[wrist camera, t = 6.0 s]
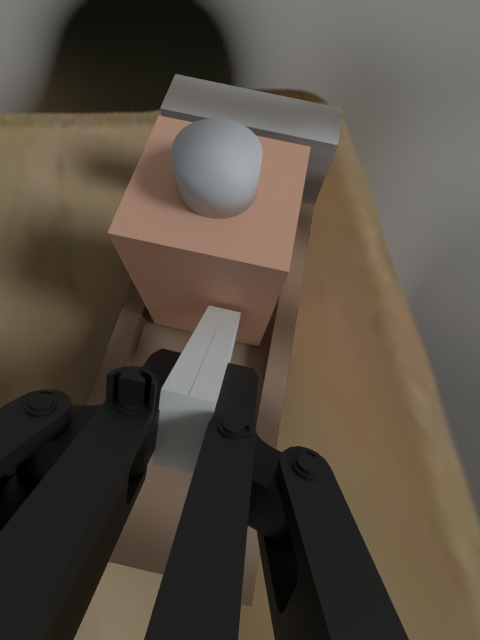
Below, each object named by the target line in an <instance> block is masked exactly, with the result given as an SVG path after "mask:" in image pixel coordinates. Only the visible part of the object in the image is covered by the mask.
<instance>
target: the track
mask: <svg viewBox="0 0 480 640" xmlns="http://www.w3.org/2000/svg"><path fill="white" fill-rule="evenodd" d="M160 110H161V115H162V116H164V117H169V118H174V119H179V120H184V121H189V122H196V121H199V120H203V119H209V118H222V119H228V120H232V121H235V122H238V123H240V124H242V125H244V126H245V127H247V128H248V129H250V130H251V131H252V132H253V133H254V134H255V135H256V136H261V137H266V138H271V139H275V140H280V141H285V142H290V143H295V144H300V145H304V146H309V147H311V149H310V155H309V160H308V166H307V172H306V177H305V183H304V189H303V194H302V200H301V206H300V212H299V217H298V223H297V229H296V234H295V240H294V246H293V251H292V257H291V263H290V269H289V273H288V275H287V278H286V280H285V283H284V285H283V288H282V290H281V293H280V295H279V298H278V300H277V303H276V305H275V308H274V310H273V313H272V315H271V317H270V320H269V322H268V325H267V327H266V330H265V332H264V335H263V337H262V340H261V342H260V345H259V347H258V346H253V345H249V344H244V343H239V342H235V343H234V347H233V352H232V356H231V361H230V363H232V364H237V365H241V366H245V367H250V368H254V370H255V371H256V373H257V375H258V377H259V379H258V390H257V400H256V411H255V421H254V425H255V430H256V432H257V434H258V436H259V437H260V438H261V439H262V440H263V441H264V442H265V443H266V444H268V445H269V446H271V447H273V448H275V449H276V446H277V439H278V433H279V427H280V420H281V414H282V407H283V401H284V395H285V388H286V382H287V375H288V369H289V362H290V356H291V350H292V343H293V337H294V330H295V324H296V318H297V311H298V305H299V298H300V292H301V285H302V279H303V273H304V266H305V260H306V253H307V247H308V241H309V234H310V228H311V221H312V215H313V208H314V204H315V202H316V199H317V197H318V194H319V192H320V189H321V187H322V184H323V182H324V179H325V177H326V174H327V172H328V169H329V166H330V164H331V161H332V159H333V156H334V154H335V151H336V149H337V146H338V141H339V134H340V126H341V119H342V111H343V108H338V107H333V106H328V105H323V104H319V103H314V102H309V101H304V100H299V99H294V98H289V97H284V96H279V95H275V94H270V93H265V92H260V91H255V90H250V89H245V88H240V87H235V86H230V85H226V84H221V83H215V82H211V81H206V80H201V79H196V78H191V77H186V76H182V75H177V74H176V75H175V76H174V79H173V81H172V83H171V85H170V88H169V90H168V92H167V94H166V97H165V99H164V101H163V103H162V106H161V108H160ZM192 334H193V332H189V331H185V330H180V329H176V328H171V327H167V326H162V325H157V324H155V323H154V321H153V319H152V317H151V315H150V313H149V311H148V310H147V308H146V306H145V304H144V302H143V300H142V298H141V296H140V294H139V292H138V290H137V289H136V287H135V285H134V283H133V281H132V283H131V285H130V288H129V291H128V293H127V296H126V299H125V301H124V304H123V307H122V309H121V312H120V315H119V317H118V320H117V322H116V325H115V328H114V330H113V333H112V336H111V338H110V341H109V344H108V346H107V349H106V352H105V354H104V357H103V359H102V362H101V365H100V367H99V370H98V373H97V375H96V378H95V381H94V383H93V386H92V389H91V391H90V394H89V396H88V399H87V402H86V404H85V406H91V405H100V404H103V402H104V401H105V400H106V379H107V374H108V373H109V372H111V371H112V370H114V369H117V368H120V367H125V366H137V367H142V366H143V365H144V363H146V361H147V359H148V358H149V357H150V355H151V354H152V353H154V352H156V351H158V350H160V349H162V348H163V349H167V350H172V351H176V352H180V353H182V352H183V350H184V348H185V346H186V345H187V343H188V341H189V339H190V338H191V336H192ZM152 458H153V454H152V456H151V458H150V460H149V463H148V465H147V473H146V478H145V481H144V483H143V485H142V488H141V490H140V492H139V494H138V496H137V499H136V501H135V503H134V505H133V508H132V510H131V512H130V514H129V517H128V519H127V521H126V523H125V526H124V528H123V530H122V532H121V535H120V537H119V539H118V541H117V543H116V546H115V548H114V550H113V552H112V555H111V557H110V559H109V561H108V562H112V563H117V564H121V565H125V566H129V567H134V568H138V569H142V570H146V571H151V572H155V573H159V574H164V571H165V568H166V564H167V561H168V557H169V554H170V551H171V547H172V544H173V540H174V537H175V534H176V530H177V527H178V523H179V520H180V517H181V513H182V510H183V507H184V503H185V500H186V496H187V493H188V490H189V486H190V483H191V479H192V476H193V473H189V472H185V471H181V470H177V469H172V468H168V467H164V466H160V465H156V464H152ZM259 555H260V549H259V543H258V537H257V531H256V530H255V529H253V528H251V527H250V526H248V530H247V541H246V553H245V564H244V575H243V587H242V598H241V604H243V605H247V606H252V600H253V593H254V587H255V581H256V574H257V568H258V561H259Z"/></svg>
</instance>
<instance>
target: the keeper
mask: <svg viewBox="0 0 480 640" xmlns="http://www.w3.org/2000/svg"><path fill="white" fill-rule="evenodd" d="M310 149H311V147H309V146H304V145H300V144H295V143H290V142H285V141H280V140H275V139H271V138H266V137H261V136H256V135H255V134H254V133H253V132H252V131H251V130H250V129H248V128H247V127H245V126H244V125H242V124H240V123H238V122H235V121H232V120H228V119H222V118H209V119H203V120H199V121H196V122H189V121H184V120H179V119H174V118H169V117H164V116H160V115H159V116H158V118H157V121H156V123H155V125H154V128H153V130H152V132H151V134H150V137H149V139H148V141H147V143H146V146H145V148H144V150H143V153H142V155H141V157H140V159H139V162H138V164H137V166H136V169H135V171H134V173H133V175H132V178H131V180H130V182H129V185H128V187H127V189H126V191H125V194H124V196H123V198H122V200H121V203H120V205H119V207H118V210H117V212H116V214H115V216H114V219H113V221H112V223H111V226H110V228H109V230H108V232H107V233H108V235H109V237H110V239H111V241H112V243H113V245H114V247H115V249H116V251H117V252H118V254H119V256H120V258H121V260H122V262H123V264H124V266H125V268H126V270H127V271H128V273H129V275H130V277H131V279H132V281H133V283H134V285H135V287H136V289H137V290H138V292H139V294H140V296H141V298H142V300H143V302H144V304H145V306H146V308H147V310H148V311H149V313H150V315H151V317H152V319H153V321H154V323H155V324H157V325H162V326H167V327H171V328H176V329H180V330H185V331H189V332H194V331H195V329H196V327H197V325H198V324H199V322H200V320H201V318H202V317H203V315H204V313H205V311H206V310H207V308H208V306H209V305H210V306H214V307H218V308H223V309H227V310H232V311H236V312H240V313H241V315H240V320H239V324H238V329H237V334H236V338H235V342H239V343H244V344H249V345H253V346H258V347H259V345H260V342H261V340H262V337H263V335H264V332H265V330H266V327H267V325H268V322H269V320H270V317H271V315H272V313H273V310H274V308H275V305H276V303H277V300H278V298H279V295H280V293H281V290H282V288H283V285H284V283H285V280H286V278H287V275H288V273H289V269H290V263H291V257H292V251H293V246H294V240H295V234H296V229H297V223H298V217H299V212H300V206H301V200H302V194H303V189H304V183H305V177H306V172H307V166H308V160H309V155H310Z"/></svg>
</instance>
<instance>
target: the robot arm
mask: <svg viewBox="0 0 480 640" xmlns="http://www.w3.org/2000/svg"><path fill="white" fill-rule="evenodd" d="M240 315H241V313H240V312H236V311H232V310H227V309H223V308H218V307H214V306H210V305H209V306H208V308H207V310H206V311H205V313H204V315H203V317H202V318H201V320H200V322H199V324H198V325H197V327H196V329H195V331H194V332H193V334H192V336H191V338H190V339H189V341H188V343H187V345H186V346H185V348H184V350H183V352H182V353H180V352H176V351H172V350H167V349H163V348H162V349H160V350H158V351H156V352H154V353H152V354H151V355H150V357H149V358H148V359H147V361H146V363H144V365H143V366H142V367H137V366H125V367H120V368H117V369H114V370H112V371H111V372H109V373H108V374H107V379H106V400H105V401H104V402H103V404H100V405H91V406H71V401H70V398H69V396H68V395H66V394H65V393H63V392H61V391H57V390H38V391H33V392H30V393H28V394H25V395H23V396H21V397H19V398H17V399H15V400H14V401H12V402H10V403H8V404H7V405H5V406H3V407H1V408H0V640H74V637H75V635H76V633H77V631H78V628H79V626H80V624H81V622H82V620H83V617H84V615H85V613H86V611H87V608H88V606H89V604H90V602H91V599H92V597H93V595H94V593H95V590H96V588H97V586H98V584H99V581H100V579H101V577H102V575H103V573H104V570H105V568H106V566H107V564H108V561H109V559H110V557H111V555H112V552H113V550H114V548H115V546H116V543H117V541H118V539H119V537H120V535H121V532H122V530H123V528H124V526H125V523H126V521H127V519H128V517H129V514H130V512H131V510H132V508H133V505H134V503H135V501H136V499H137V496H138V494H139V492H140V490H141V488H142V485H143V483H144V481H145V478H146V473H147V465H148V463H149V460H150V458H151V456H152V454H153V458H152V464H156V465H160V466H164V467H168V468H172V469H177V470H181V471H185V472H189V473H193V476H192V479H191V483H190V486H189V490H188V493H187V496H186V500H185V503H184V507H183V510H182V513H181V517H180V520H179V523H178V527H177V530H176V534H175V537H174V540H173V544H172V547H171V551H170V554H169V557H168V561H167V564H166V568H165V571H164V574H163V578H162V581H161V585H160V588H159V591H158V595H157V598H156V602H155V605H154V608H153V612H152V615H151V618H150V622H149V625H148V629H147V632H146V635H145V639H144V640H238V632H239V621H240V609H241V598H242V587H243V575H244V564H245V553H246V541H247V530H248V526H250V527H251V528H253V529H255V530H256V531H257V537H258V543H259V549H260V555H261V561H262V567H263V572H264V578H265V584H266V590H267V596H268V602H269V607H270V613H271V619H272V625H273V631H274V637H275V640H409V639H408V637H407V635H406V632H405V630H404V628H403V626H402V624H401V621H400V619H399V617H398V615H397V613H396V610H395V608H394V606H393V604H392V602H391V599H390V597H389V595H388V593H387V591H386V588H385V586H384V584H383V582H382V580H381V577H380V575H379V573H378V571H377V569H376V566H375V564H374V562H373V560H372V558H371V555H370V553H369V551H368V549H367V547H366V544H365V542H364V540H363V538H362V536H361V533H360V531H359V529H358V527H357V525H356V522H355V520H354V518H353V516H352V514H351V511H350V509H349V507H348V505H347V503H346V500H345V498H344V496H343V494H342V492H341V489H340V487H339V485H338V483H337V481H336V478H335V476H334V474H333V472H332V470H331V468H330V466H329V465H328V463H327V462H326V460H325V459H324V458H323V457H322V456H320V455H319V454H318V453H317V452H315V451H313V450H311V449H309V448H305V447H300V446H296V447H289V448H288V449H286V450H285V451H283V453H282V452H280V451H278V450H276V449H275V448H273V447H271V446H269V445H268V444H266V443H265V442H264V441H263V440H262V439H261V438H260V437H259V436H258V434H257V432H256V430H255V425H254V421H255V411H256V400H257V390H258V379H259V377H258V375H257V373H256V371H255V370H254V368H250V367H245V366H241V365H237V364H232V363H230V361H231V356H232V352H233V347H234V343H235V338H236V334H237V329H238V324H239V320H240Z"/></svg>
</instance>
